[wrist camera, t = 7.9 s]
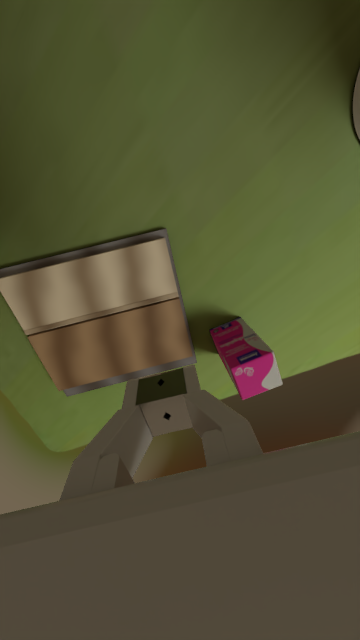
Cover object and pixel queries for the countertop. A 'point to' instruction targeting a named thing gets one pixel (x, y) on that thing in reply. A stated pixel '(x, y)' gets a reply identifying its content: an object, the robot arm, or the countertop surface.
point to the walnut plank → (113, 344)
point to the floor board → (95, 289)
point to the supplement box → (246, 358)
